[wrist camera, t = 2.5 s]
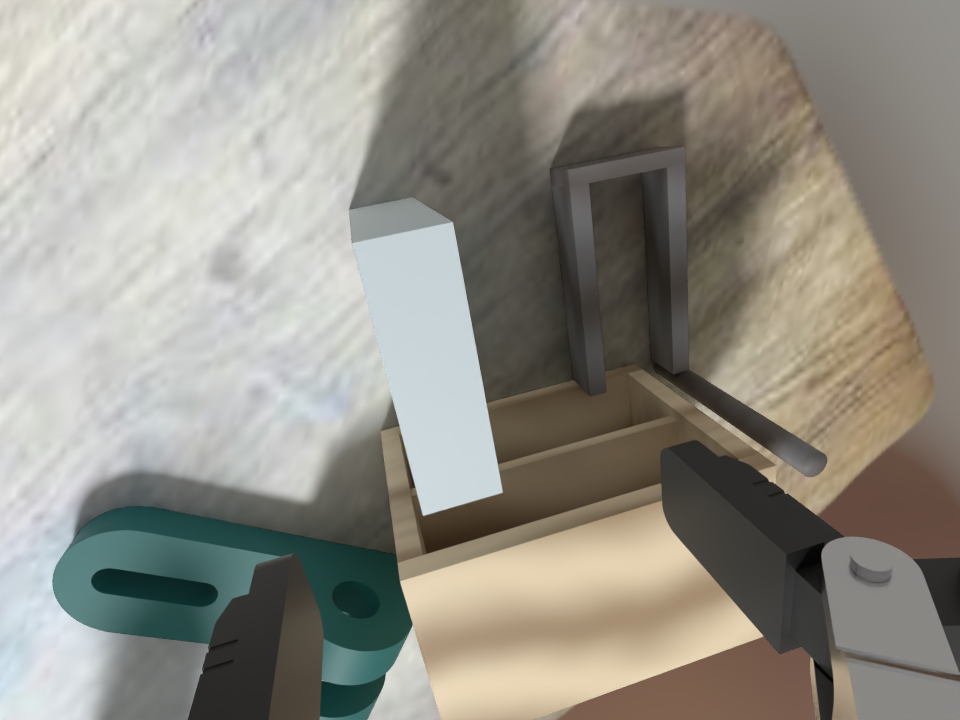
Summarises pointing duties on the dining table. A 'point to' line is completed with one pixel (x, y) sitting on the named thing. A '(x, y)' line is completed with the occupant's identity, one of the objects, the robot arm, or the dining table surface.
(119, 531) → the bracket
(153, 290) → the dining table surface
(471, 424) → the door
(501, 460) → the wooden caddy
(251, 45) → the dining table surface
